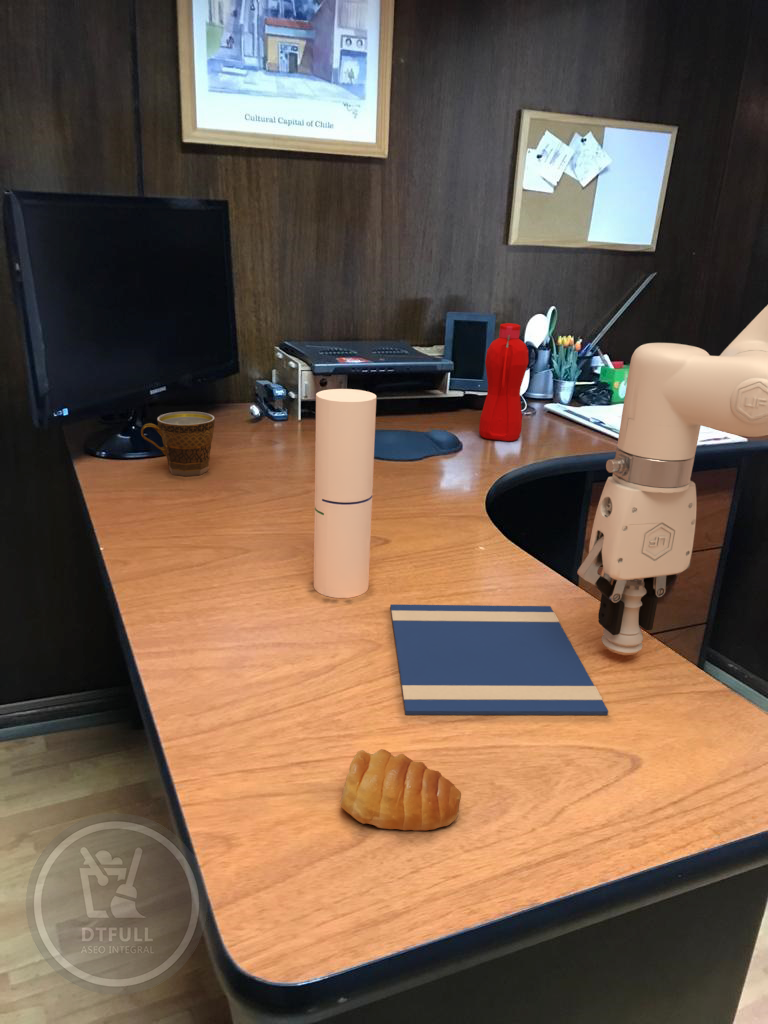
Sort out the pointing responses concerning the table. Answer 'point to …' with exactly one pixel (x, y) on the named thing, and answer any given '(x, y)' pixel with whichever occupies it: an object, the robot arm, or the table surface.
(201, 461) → the ceramic cup
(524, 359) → the water bottle
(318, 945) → the table surface
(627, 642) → the rook chess piece
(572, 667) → the towel
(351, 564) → the cylindrical container
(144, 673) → the table surface
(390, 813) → the pastry
